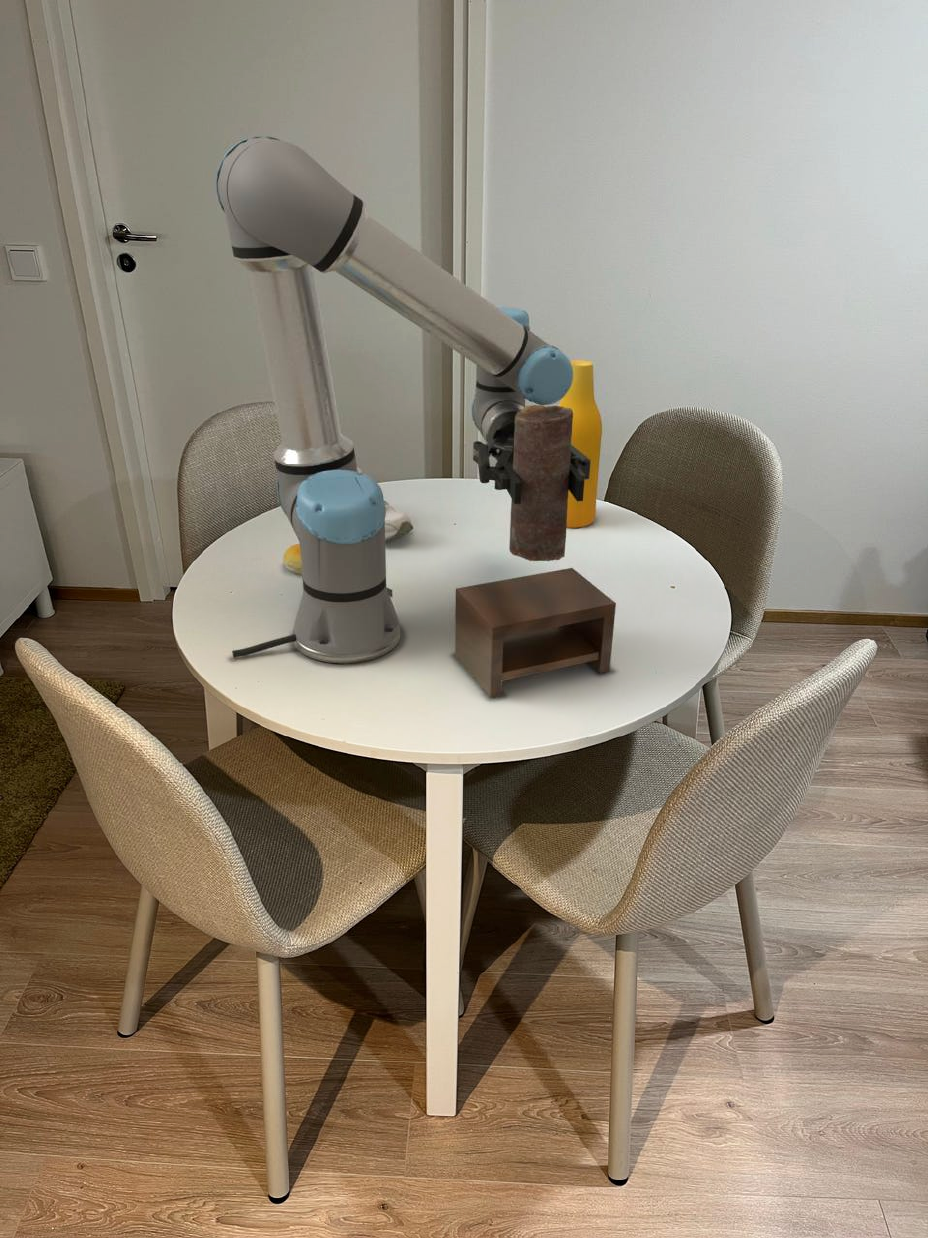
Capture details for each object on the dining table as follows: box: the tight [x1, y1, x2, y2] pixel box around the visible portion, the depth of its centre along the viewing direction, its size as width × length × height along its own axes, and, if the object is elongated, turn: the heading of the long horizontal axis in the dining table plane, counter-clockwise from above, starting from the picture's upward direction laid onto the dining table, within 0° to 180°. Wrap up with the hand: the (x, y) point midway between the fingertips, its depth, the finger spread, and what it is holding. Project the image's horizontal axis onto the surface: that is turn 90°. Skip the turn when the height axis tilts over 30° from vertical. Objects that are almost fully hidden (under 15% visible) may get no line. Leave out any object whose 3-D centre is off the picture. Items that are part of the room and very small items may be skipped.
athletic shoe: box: [357, 466, 414, 542], centre depth 176 cm, size 10×23×12 cm, turn 52°
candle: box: [508, 404, 573, 562], centre depth 125 cm, size 8×7×20 cm
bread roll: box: [282, 543, 302, 575], centre depth 162 cm, size 8×9×4 cm
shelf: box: [454, 567, 617, 699], centre depth 133 cm, size 18×12×10 cm, turn 113°
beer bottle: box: [557, 359, 603, 529], centre depth 176 cm, size 9×9×29 cm
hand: (549, 492), depth 120 cm, fingers closed on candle, 7 cm apart
